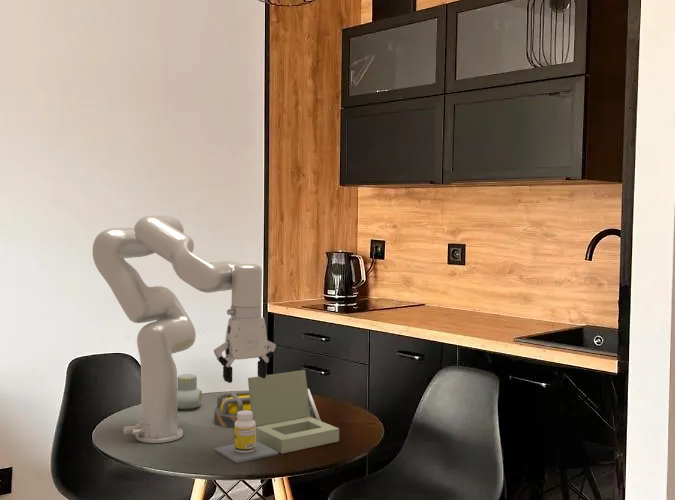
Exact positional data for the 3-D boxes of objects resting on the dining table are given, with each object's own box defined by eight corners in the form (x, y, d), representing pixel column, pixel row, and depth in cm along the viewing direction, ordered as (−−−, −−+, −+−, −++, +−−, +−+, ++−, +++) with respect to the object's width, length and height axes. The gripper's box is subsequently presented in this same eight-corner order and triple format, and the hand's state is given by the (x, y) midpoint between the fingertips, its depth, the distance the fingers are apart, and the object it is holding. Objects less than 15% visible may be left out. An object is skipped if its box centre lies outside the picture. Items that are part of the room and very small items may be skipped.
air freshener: (197, 412, 226) (197, 379, 226) (170, 412, 226) (170, 379, 226) (202, 402, 237) (202, 372, 237) (176, 402, 237) (176, 372, 237)
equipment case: (281, 453, 188) (282, 390, 187) (247, 436, 202) (247, 377, 201) (342, 440, 199) (342, 380, 198) (305, 424, 213) (306, 368, 213)
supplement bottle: (237, 446, 192) (237, 409, 191) (258, 447, 191) (258, 410, 190) (231, 453, 186) (231, 414, 186) (252, 454, 185) (252, 415, 185)
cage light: (209, 390, 221) (304, 383, 232) (209, 417, 222) (304, 408, 233) (220, 402, 208) (320, 394, 219) (220, 430, 208) (320, 420, 219)
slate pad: (236, 463, 180) (236, 461, 180) (214, 450, 190) (214, 448, 190) (278, 454, 187) (278, 452, 187) (255, 442, 197) (255, 440, 197)
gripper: (222, 317, 179) (221, 386, 180) (283, 312, 189) (281, 378, 190) (208, 313, 185) (207, 380, 186) (268, 308, 195) (267, 372, 196)
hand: (245, 379), depth 188 cm, fingers open, 9 cm apart
